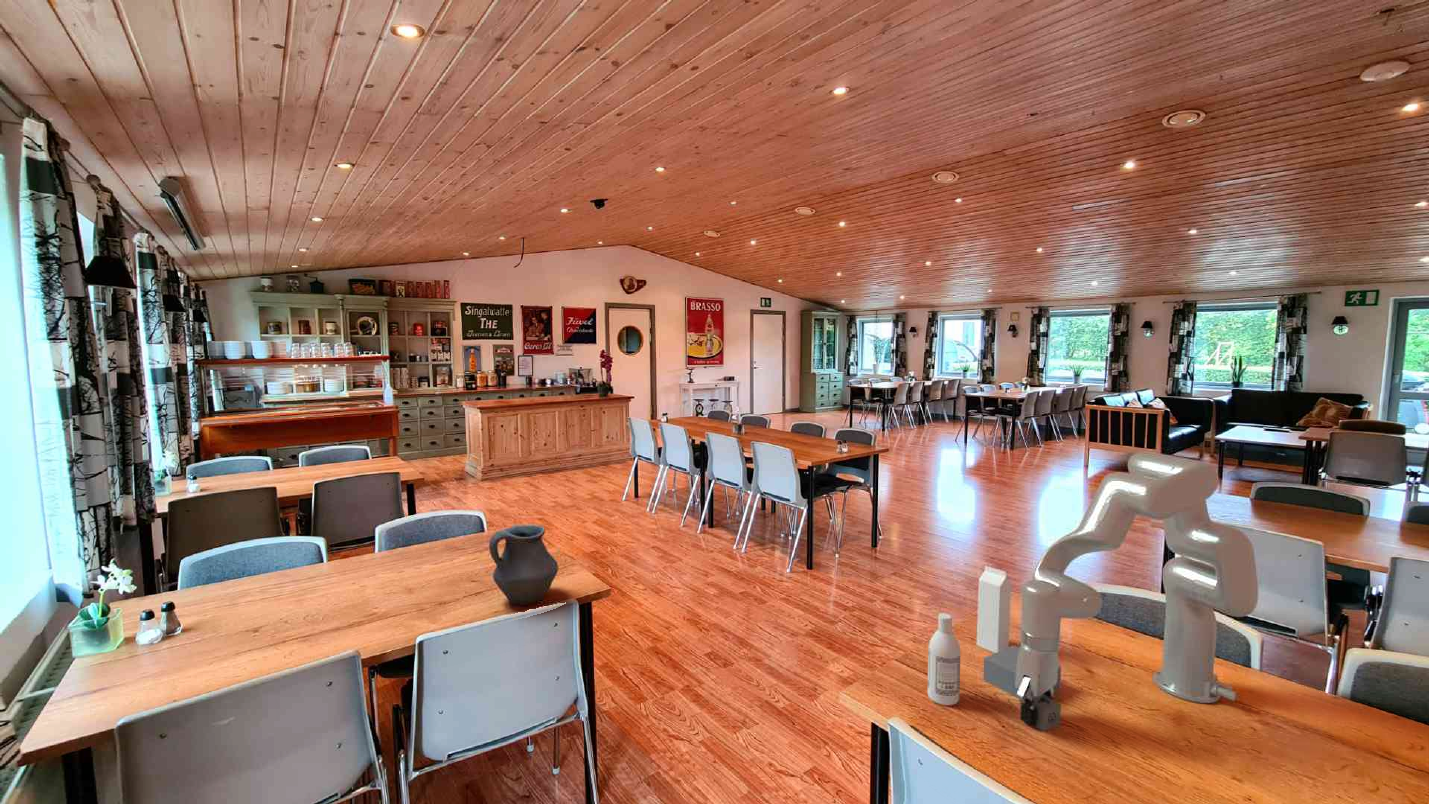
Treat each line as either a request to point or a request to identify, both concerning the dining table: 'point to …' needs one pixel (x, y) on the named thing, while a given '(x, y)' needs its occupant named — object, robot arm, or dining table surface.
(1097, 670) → the dining table surface
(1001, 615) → the milk
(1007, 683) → the grey block
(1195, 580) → the robot arm
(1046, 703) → the dice cube
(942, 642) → the bath foam
